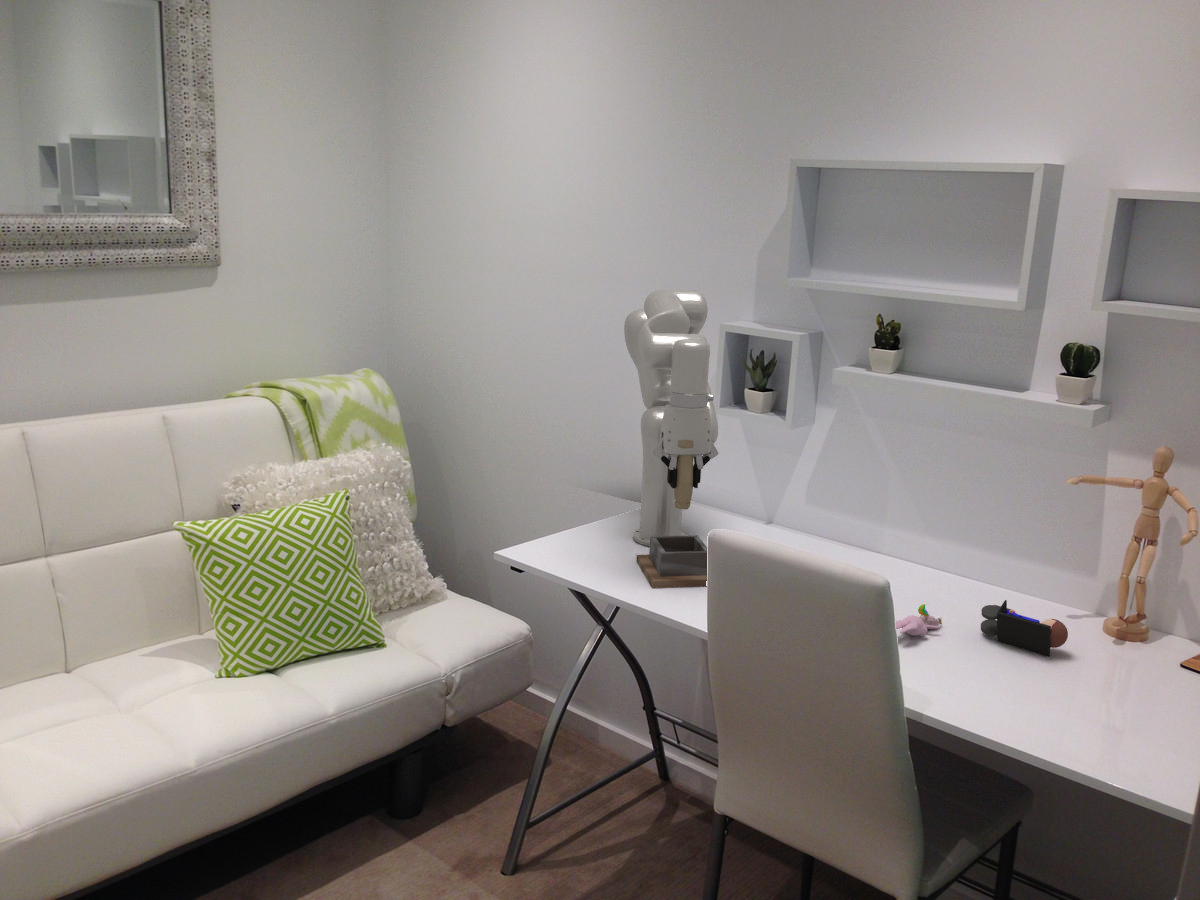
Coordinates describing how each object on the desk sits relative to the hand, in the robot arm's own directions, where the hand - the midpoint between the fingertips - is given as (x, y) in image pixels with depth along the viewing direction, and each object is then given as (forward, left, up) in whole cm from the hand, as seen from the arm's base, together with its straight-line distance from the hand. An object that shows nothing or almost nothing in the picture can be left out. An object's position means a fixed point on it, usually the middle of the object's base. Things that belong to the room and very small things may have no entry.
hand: (683, 485), depth 216 cm
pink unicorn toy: (+35, +37, -20) cm, 54 cm away
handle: (0, 0, -5) cm, 5 cm away
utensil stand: (0, 0, -19) cm, 19 cm away
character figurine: (+42, +54, -20) cm, 71 cm away
